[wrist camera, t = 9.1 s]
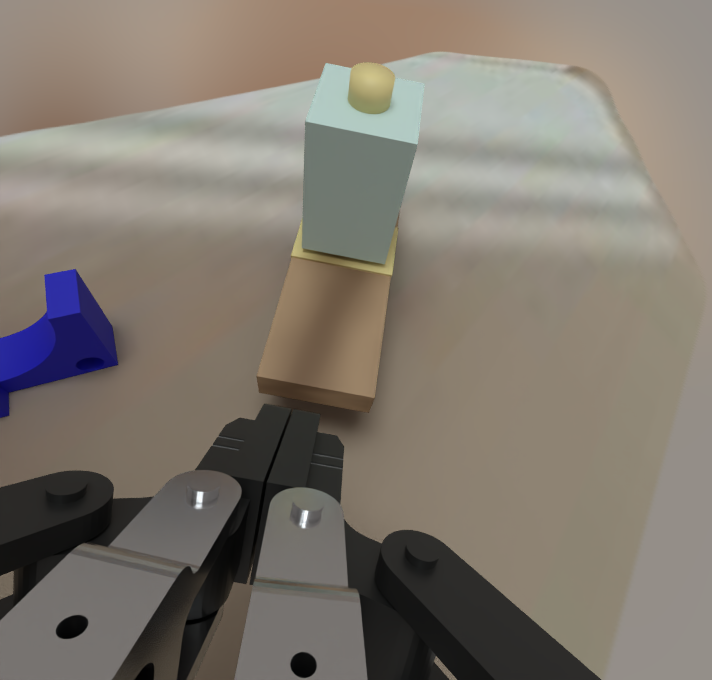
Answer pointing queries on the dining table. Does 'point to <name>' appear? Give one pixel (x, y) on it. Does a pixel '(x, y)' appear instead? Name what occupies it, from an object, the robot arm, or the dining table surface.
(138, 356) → the dining table surface
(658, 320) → the dining table surface
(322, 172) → the block
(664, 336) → the dining table surface
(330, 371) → the beam
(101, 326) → the cable clip
